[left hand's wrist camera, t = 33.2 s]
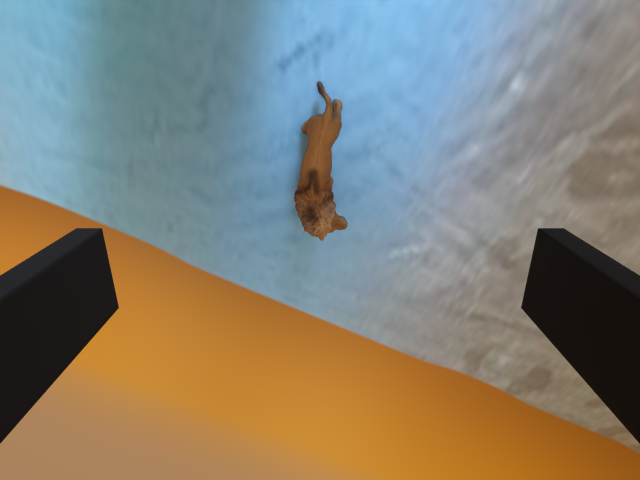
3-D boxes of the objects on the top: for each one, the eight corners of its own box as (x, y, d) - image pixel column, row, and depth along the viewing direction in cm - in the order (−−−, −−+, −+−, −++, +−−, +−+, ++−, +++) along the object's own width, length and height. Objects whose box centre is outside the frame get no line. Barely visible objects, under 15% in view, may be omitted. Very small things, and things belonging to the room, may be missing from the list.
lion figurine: (344, 215, 37) (349, 244, 30) (298, 217, 37) (294, 246, 31) (342, 80, 33) (349, 80, 26) (291, 82, 33) (284, 82, 26)
